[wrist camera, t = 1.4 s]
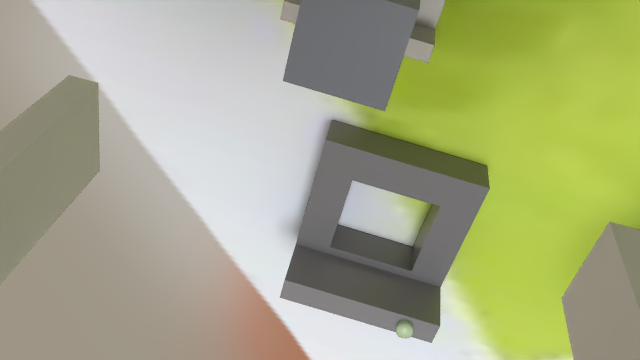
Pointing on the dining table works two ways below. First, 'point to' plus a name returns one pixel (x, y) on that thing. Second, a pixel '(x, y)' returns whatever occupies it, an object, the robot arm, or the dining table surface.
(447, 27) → the dining table surface
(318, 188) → the port
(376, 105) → the plug
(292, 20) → the grey u-shaped block
